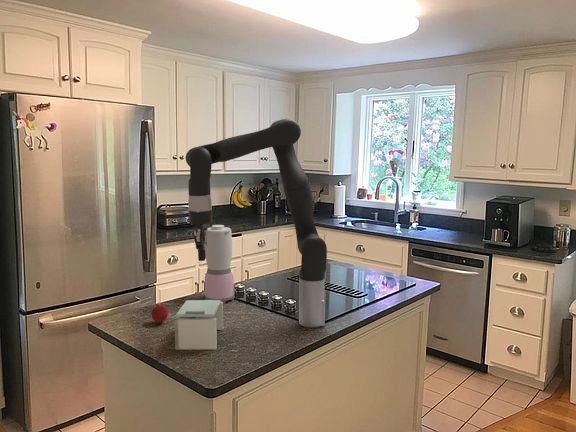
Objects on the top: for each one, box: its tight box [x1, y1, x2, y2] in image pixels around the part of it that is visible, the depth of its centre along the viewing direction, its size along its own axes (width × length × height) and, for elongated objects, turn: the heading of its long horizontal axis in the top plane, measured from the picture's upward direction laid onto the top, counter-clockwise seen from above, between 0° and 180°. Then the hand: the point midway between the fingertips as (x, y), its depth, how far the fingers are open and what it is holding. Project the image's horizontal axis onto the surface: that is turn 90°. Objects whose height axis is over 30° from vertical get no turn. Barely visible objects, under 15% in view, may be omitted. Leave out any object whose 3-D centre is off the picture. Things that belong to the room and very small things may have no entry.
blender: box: [204, 224, 235, 305], centre depth 201 cm, size 16×12×32 cm
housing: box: [173, 302, 224, 350], centre depth 161 cm, size 13×17×10 cm
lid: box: [175, 299, 221, 318], centre depth 160 cm, size 12×17×1 cm
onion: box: [150, 301, 169, 324], centre depth 175 cm, size 6×6×8 cm
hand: (202, 260), depth 158 cm, fingers closed
